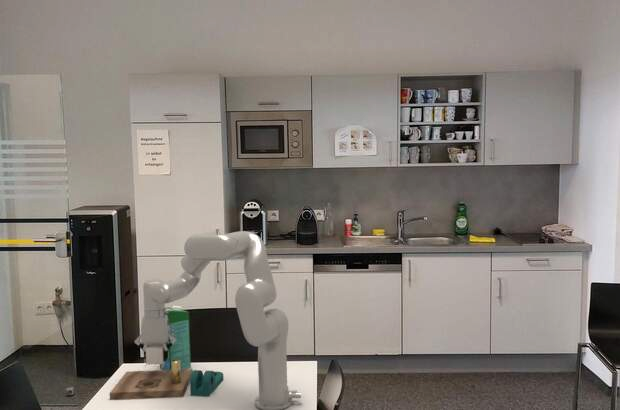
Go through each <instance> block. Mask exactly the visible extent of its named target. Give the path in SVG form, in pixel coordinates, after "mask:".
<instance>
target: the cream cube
mask: <svg viewBox="0 0 620 410" xmlns="http://www.w3.org/2000/svg"><path fill="white" fill-rule="evenodd" d="M163 351H164V348H163V345H162V344H149V345H148V346H147V348H146V362H145V363H146V364H145V365H146V366H147V365H148V366H149V365H150V366H151V365H160V364H163V363H164V359H163Z"/></svg>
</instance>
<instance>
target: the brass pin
mask: <svg viewBox="0 0 620 410" xmlns="http://www.w3.org/2000/svg"><path fill="white" fill-rule="evenodd" d="M172 383H173V384H179V383H181V370H180V360H179V359H175V360H172Z"/></svg>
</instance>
